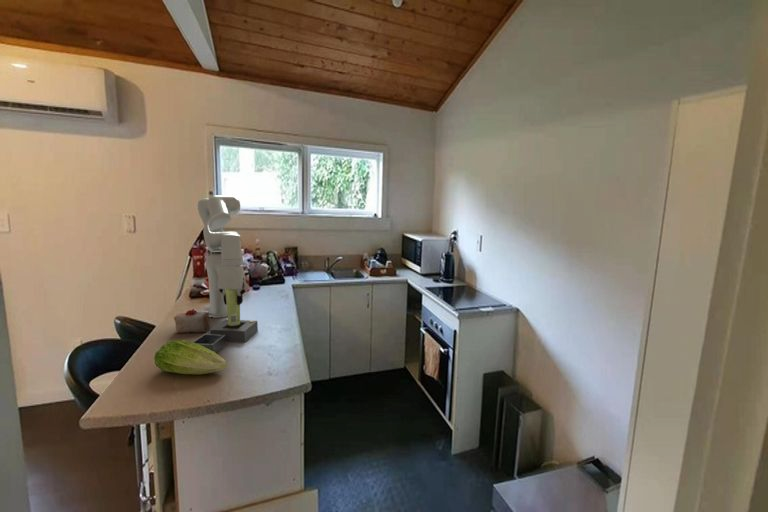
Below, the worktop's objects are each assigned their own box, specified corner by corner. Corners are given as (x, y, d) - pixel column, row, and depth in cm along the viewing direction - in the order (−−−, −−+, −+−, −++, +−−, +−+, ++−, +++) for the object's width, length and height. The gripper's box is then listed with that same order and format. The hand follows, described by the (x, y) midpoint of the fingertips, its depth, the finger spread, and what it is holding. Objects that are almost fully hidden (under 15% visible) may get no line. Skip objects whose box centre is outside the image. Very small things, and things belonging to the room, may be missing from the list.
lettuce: (208, 372, 113) (227, 338, 122) (141, 361, 117) (164, 328, 125) (222, 389, 121) (239, 356, 130) (158, 378, 125) (179, 346, 134)
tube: (231, 321, 158) (229, 278, 155) (242, 322, 158) (241, 279, 155) (225, 326, 153) (223, 281, 149) (237, 326, 153) (235, 282, 149)
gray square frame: (189, 353, 138) (188, 344, 137) (204, 342, 148) (203, 333, 147) (213, 354, 137) (212, 345, 136) (226, 344, 147) (226, 334, 147)
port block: (210, 341, 150) (209, 328, 149) (225, 329, 163) (225, 318, 162) (244, 342, 149) (244, 330, 148) (257, 331, 162) (257, 320, 161)
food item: (172, 334, 156) (171, 313, 155) (179, 328, 164) (178, 307, 162) (205, 333, 158) (204, 312, 157) (211, 327, 166) (210, 307, 165)
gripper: (207, 263, 148) (209, 305, 151) (247, 264, 147) (248, 307, 150) (216, 260, 155) (218, 300, 158) (254, 261, 154) (256, 302, 157)
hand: (233, 303), depth 154 cm, fingers closed on tube, 4 cm apart
